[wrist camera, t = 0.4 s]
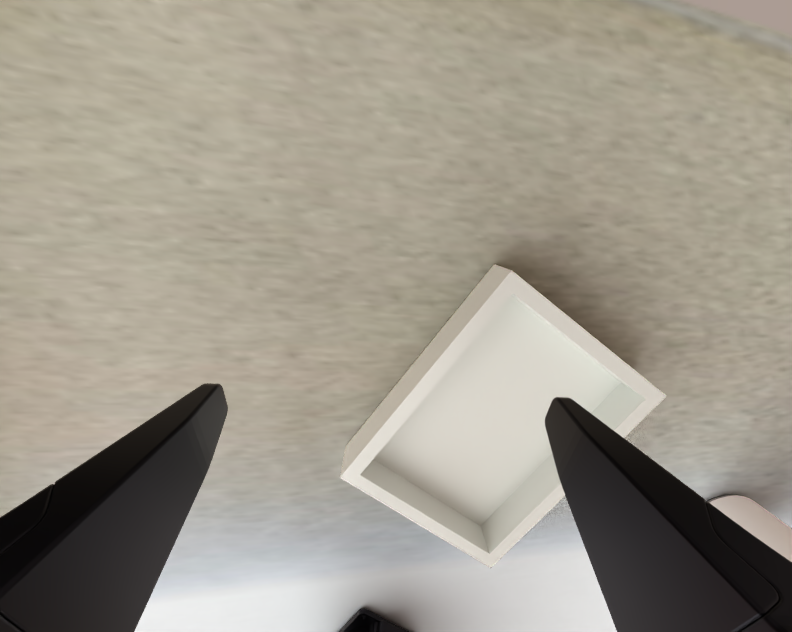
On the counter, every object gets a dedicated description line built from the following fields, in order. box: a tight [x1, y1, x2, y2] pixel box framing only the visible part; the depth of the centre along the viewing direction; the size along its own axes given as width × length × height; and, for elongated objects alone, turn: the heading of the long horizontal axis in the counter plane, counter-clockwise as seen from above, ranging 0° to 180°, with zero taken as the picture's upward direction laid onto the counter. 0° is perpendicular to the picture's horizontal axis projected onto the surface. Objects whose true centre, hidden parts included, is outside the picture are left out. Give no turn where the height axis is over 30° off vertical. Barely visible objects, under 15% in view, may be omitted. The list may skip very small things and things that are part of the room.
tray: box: [340, 264, 666, 568], centre depth 25 cm, size 18×14×4 cm
